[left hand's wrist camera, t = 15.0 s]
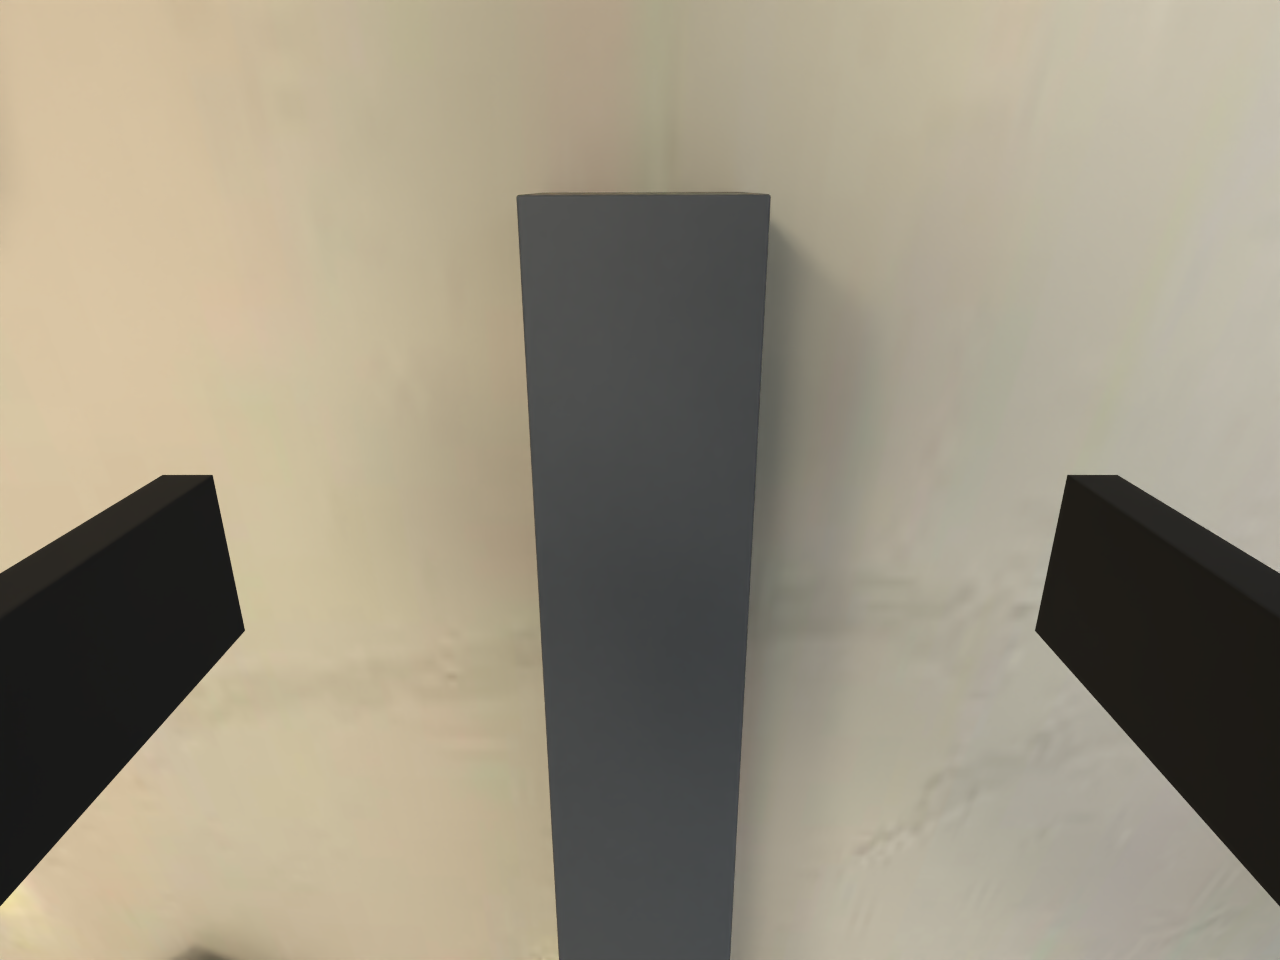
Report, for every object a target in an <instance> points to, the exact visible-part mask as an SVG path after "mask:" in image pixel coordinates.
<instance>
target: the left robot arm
mask: <svg viewBox="0 0 1280 960" xmlns="http://www.w3.org/2000/svg"><path fill="white" fill-rule="evenodd" d="M244 631H245V629H244V624H243V619H242V614H241V610H240V605H239V600H238V595H237V590H236V586H235V581H234V576H233V571H232V566H231V562H230V557H229V552H228V547H227V542H226V537H225V533H224V528H223V523H222V518H221V513H220V509H219V504H218V499H217V494H216V489H215V485H214V480H213V475H162V476H160V477H159V478H157V479H155V480H154V481H152V482H150V483H149V484H147V485H145V486H144V487H142V488H141V489H139V490H137V491H136V492H134V493H132V494H131V495H129V496H127V497H126V498H124V499H122V500H121V501H119V502H117V503H116V504H114V505H112V506H111V507H109V508H108V509H106V510H104V511H103V512H101V513H99V514H98V515H96V516H94V517H93V518H91V519H89V520H88V521H86V522H84V523H83V524H81V525H80V526H78V527H76V528H75V529H73V530H71V531H70V532H68V533H66V534H65V535H63V536H61V537H60V538H58V539H56V540H55V541H53V542H51V543H50V544H48V545H47V546H45V547H43V548H42V549H40V550H38V551H37V552H35V553H33V554H32V555H30V556H28V557H27V558H25V559H23V560H22V561H20V562H19V563H17V564H15V565H14V566H12V567H10V568H9V569H7V570H5V571H4V572H2V573H0V906H1V905H2V904H3V903H4V901H5V900H6V899H7V898H8V897H9V896H10V895H11V894H12V892H13V891H14V890H15V889H16V888H17V887H18V886H19V885H20V883H21V882H22V881H23V880H24V879H25V878H26V877H27V876H28V874H29V873H30V872H31V871H32V870H33V869H34V868H35V867H36V865H37V864H38V863H39V862H40V861H41V860H42V859H43V858H44V856H45V855H46V854H47V853H48V852H49V851H50V850H51V849H52V847H53V846H54V845H55V844H56V843H57V842H58V841H59V840H60V838H61V837H62V836H63V835H64V834H65V833H66V832H67V831H68V829H69V828H70V827H71V826H72V825H73V824H74V823H75V822H76V820H77V819H78V818H79V817H80V816H81V815H82V814H83V812H84V811H85V810H86V809H87V808H88V807H89V806H90V805H91V803H92V802H93V801H94V800H95V799H96V798H97V797H98V796H99V794H100V793H101V792H102V791H103V790H104V789H105V788H106V787H107V785H108V784H109V783H110V782H111V781H112V780H113V779H114V778H115V776H116V775H117V774H118V773H119V772H120V771H121V770H122V769H123V767H124V766H125V765H126V764H127V763H128V762H129V761H130V760H131V758H132V757H133V756H134V755H135V754H136V753H137V752H138V751H139V749H140V748H141V747H142V746H143V745H144V744H145V743H146V742H147V740H148V739H149V738H150V737H151V736H152V735H153V734H154V733H155V731H156V730H157V729H158V728H159V727H160V726H161V725H162V724H163V722H164V721H165V720H166V719H167V718H168V717H169V716H170V714H171V713H172V712H173V711H174V710H175V709H176V708H177V707H178V705H179V704H180V703H181V702H182V701H183V700H184V699H185V698H186V696H187V695H188V694H189V693H190V692H191V691H192V690H193V689H194V687H195V686H196V685H197V684H198V683H199V682H200V681H201V680H202V678H203V677H204V676H205V675H206V674H207V673H208V672H209V671H210V669H211V668H212V667H213V666H214V665H215V664H216V663H217V662H218V660H219V659H220V658H221V657H222V656H223V655H224V654H225V653H226V651H227V650H228V649H229V648H230V647H231V646H232V645H233V644H234V642H235V641H236V640H237V639H238V638H239V637H240V636H241V635H242V633H243V632H244ZM1035 631H1036V632H1037V633H1038V635H1039V636H1040V637H1041V638H1042V639H1043V640H1044V641H1045V642H1046V644H1047V645H1048V646H1049V647H1050V648H1051V649H1052V650H1053V651H1054V653H1055V654H1056V655H1057V656H1058V657H1059V658H1060V659H1061V660H1062V662H1063V663H1064V664H1065V665H1066V666H1067V667H1068V668H1069V669H1070V671H1071V672H1072V673H1073V674H1074V675H1075V676H1076V677H1077V678H1078V680H1079V681H1080V682H1081V683H1082V684H1083V685H1084V686H1085V687H1086V689H1087V690H1088V691H1089V692H1090V693H1091V694H1092V695H1093V696H1094V698H1095V699H1096V700H1097V701H1098V702H1099V703H1100V704H1101V705H1102V707H1103V708H1104V709H1105V710H1106V711H1107V712H1108V713H1109V714H1110V716H1111V717H1112V718H1113V719H1114V720H1115V721H1116V722H1117V724H1118V725H1119V726H1120V727H1121V728H1122V729H1123V730H1124V731H1125V733H1126V734H1127V735H1128V736H1129V737H1130V738H1131V739H1132V740H1133V742H1134V743H1135V744H1136V745H1137V746H1138V747H1139V748H1140V749H1141V751H1142V752H1143V753H1144V754H1145V755H1146V756H1147V757H1148V758H1149V760H1150V761H1151V762H1152V763H1153V764H1154V765H1155V766H1156V767H1157V769H1158V770H1159V771H1160V772H1161V773H1162V774H1163V775H1164V776H1165V778H1166V779H1167V780H1168V781H1169V782H1170V783H1171V784H1172V785H1173V787H1174V788H1175V789H1176V790H1177V791H1178V792H1179V793H1180V794H1181V796H1182V797H1183V798H1184V799H1185V800H1186V801H1187V802H1188V803H1189V805H1190V806H1191V807H1192V808H1193V809H1194V810H1195V811H1196V812H1197V814H1198V815H1199V816H1200V817H1201V818H1202V819H1203V820H1204V822H1205V823H1206V824H1207V825H1208V826H1209V827H1210V828H1211V829H1212V831H1213V832H1214V833H1215V834H1216V835H1217V836H1218V837H1219V838H1220V840H1221V841H1222V842H1223V843H1224V844H1225V845H1226V846H1227V847H1228V849H1229V850H1230V851H1231V852H1232V853H1233V854H1234V855H1235V856H1236V858H1237V859H1238V860H1239V861H1240V862H1241V863H1242V864H1243V865H1244V867H1245V868H1246V869H1247V870H1248V871H1249V872H1250V873H1251V874H1252V876H1253V877H1254V878H1255V879H1256V880H1257V881H1258V882H1259V883H1260V885H1261V886H1262V887H1263V888H1264V889H1265V890H1266V891H1267V892H1268V894H1269V895H1270V896H1271V897H1272V898H1273V899H1274V900H1275V901H1276V903H1277V904H1278V905H1279V906H1280V573H1278V572H1276V571H1275V570H1273V569H1271V568H1270V567H1268V566H1266V565H1265V564H1263V563H1261V562H1260V561H1258V560H1257V559H1255V558H1253V557H1252V556H1250V555H1248V554H1247V553H1245V552H1243V551H1242V550H1240V549H1238V548H1237V547H1235V546H1233V545H1232V544H1230V543H1229V542H1227V541H1225V540H1224V539H1222V538H1220V537H1219V536H1217V535H1215V534H1214V533H1212V532H1210V531H1209V530H1207V529H1205V528H1204V527H1202V526H1200V525H1199V524H1197V523H1196V522H1194V521H1192V520H1191V519H1189V518H1187V517H1186V516H1184V515H1182V514H1181V513H1179V512H1177V511H1176V510H1174V509H1172V508H1171V507H1169V506H1168V505H1166V504H1164V503H1163V502H1161V501H1159V500H1158V499H1156V498H1154V497H1153V496H1151V495H1149V494H1148V493H1146V492H1144V491H1143V490H1141V489H1139V488H1138V487H1136V486H1135V485H1133V484H1131V483H1130V482H1128V481H1126V480H1125V479H1123V478H1121V477H1120V476H1118V475H1067V480H1066V485H1065V489H1064V494H1063V499H1062V504H1061V509H1060V513H1059V518H1058V523H1057V528H1056V533H1055V537H1054V542H1053V547H1052V552H1051V557H1050V562H1049V566H1048V571H1047V576H1046V581H1045V586H1044V590H1043V595H1042V600H1041V605H1040V610H1039V614H1038V619H1037V624H1036V629H1035Z"/></svg>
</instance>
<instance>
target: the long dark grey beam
mask: <svg viewBox="0 0 1280 960" xmlns="http://www.w3.org/2000/svg"><path fill="white" fill-rule="evenodd" d="M770 199H771V197H770V195H769V194H758V193H745V192H687V193H537V194H525V195H518V196H517V214H518V232H519V250H520V268H521V285H522V303H523V321H524V339H525V357H526V375H527V393H528V411H529V429H530V447H531V465H532V483H533V501H534V518H535V536H536V554H537V572H538V590H539V608H540V626H541V644H542V662H543V680H544V698H545V716H546V734H547V751H548V769H549V787H550V805H551V823H552V841H553V859H554V877H555V895H556V913H557V931H558V949H559V960H730V948H731V929H732V910H733V892H734V873H735V854H736V836H737V817H738V798H739V779H740V761H741V742H742V723H743V705H744V686H745V667H746V648H747V630H748V611H749V592H750V574H751V555H752V536H753V517H754V499H755V480H756V461H757V443H758V424H759V405H760V386H761V368H762V349H763V330H764V311H765V293H766V274H767V255H768V237H769V218H770Z"/></svg>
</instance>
